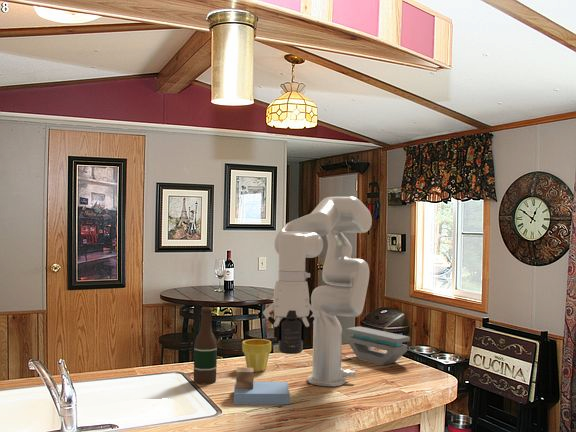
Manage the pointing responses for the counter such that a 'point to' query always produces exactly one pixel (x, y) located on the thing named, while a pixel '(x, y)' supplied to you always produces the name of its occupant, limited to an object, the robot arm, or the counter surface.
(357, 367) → the counter surface
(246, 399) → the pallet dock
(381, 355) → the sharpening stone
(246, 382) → the block
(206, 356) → the beer bottle
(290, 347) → the supplement bottle
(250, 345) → the plant pot
